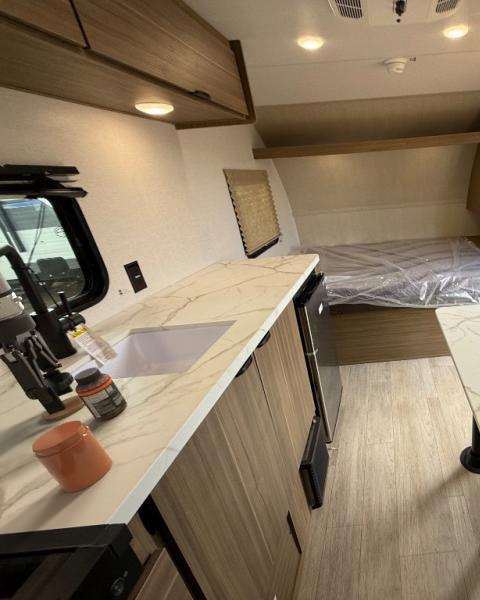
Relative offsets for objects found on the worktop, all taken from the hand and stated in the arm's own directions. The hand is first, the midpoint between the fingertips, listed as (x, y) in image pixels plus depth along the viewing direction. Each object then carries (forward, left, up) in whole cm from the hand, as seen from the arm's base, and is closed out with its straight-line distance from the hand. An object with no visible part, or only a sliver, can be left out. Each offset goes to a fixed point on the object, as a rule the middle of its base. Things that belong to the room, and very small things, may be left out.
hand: (62, 401), depth 76 cm
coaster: (0, 0, -2) cm, 2 cm away
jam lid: (0, 0, +5) cm, 5 cm away
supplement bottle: (+14, -2, -2) cm, 14 cm away
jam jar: (+25, -18, -2) cm, 31 cm away
